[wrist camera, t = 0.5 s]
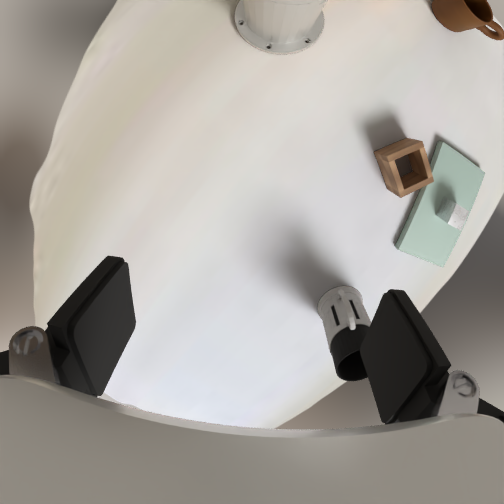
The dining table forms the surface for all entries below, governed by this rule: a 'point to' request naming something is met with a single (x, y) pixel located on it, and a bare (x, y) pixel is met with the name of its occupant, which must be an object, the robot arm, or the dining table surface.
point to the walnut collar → (417, 160)
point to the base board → (429, 199)
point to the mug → (467, 16)
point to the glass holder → (345, 330)
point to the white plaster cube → (452, 213)
